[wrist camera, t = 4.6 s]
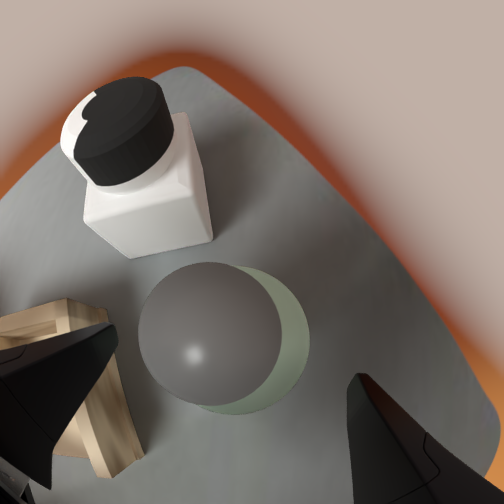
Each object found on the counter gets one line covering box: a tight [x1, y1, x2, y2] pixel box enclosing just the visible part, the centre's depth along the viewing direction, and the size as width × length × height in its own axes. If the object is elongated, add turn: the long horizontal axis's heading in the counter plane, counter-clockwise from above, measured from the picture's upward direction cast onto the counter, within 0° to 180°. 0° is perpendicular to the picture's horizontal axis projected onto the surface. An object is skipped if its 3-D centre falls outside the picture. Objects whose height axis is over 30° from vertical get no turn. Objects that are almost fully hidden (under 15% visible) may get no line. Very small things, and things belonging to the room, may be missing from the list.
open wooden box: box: [0, 298, 145, 478], centre depth 14 cm, size 12×12×5 cm
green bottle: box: [138, 262, 310, 415], centre depth 11 cm, size 5×5×14 cm
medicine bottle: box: [61, 77, 213, 259], centre depth 16 cm, size 7×7×12 cm
